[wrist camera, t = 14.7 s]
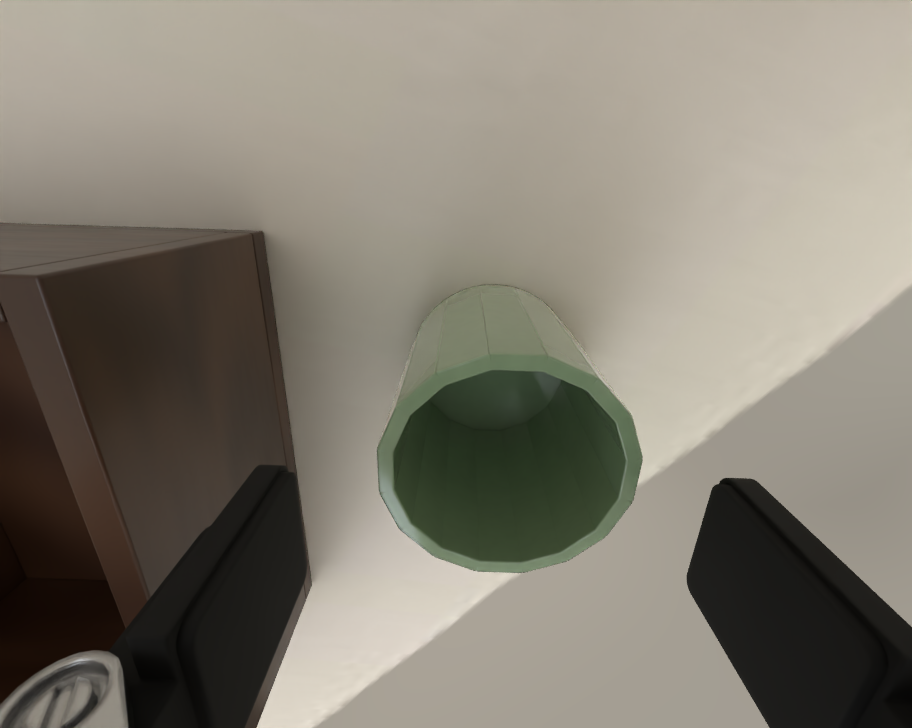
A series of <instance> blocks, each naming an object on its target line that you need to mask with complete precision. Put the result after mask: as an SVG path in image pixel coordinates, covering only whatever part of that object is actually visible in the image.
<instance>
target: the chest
mask: <svg viewBox="0 0 912 728" xmlns="http://www.w3.org/2000/svg"><path fill="white" fill-rule="evenodd" d="M258 465H285V466H287V468H288V471H289V472H294V473H295V475H296V479H297V474H296V467H295V460H294V452H293V445H292V438H291V431H290V423H289V416H288V409H287V402H286V394H285V387H284V380H283V373H282V365H281V358H280V351H279V344H278V336H277V329H276V322H275V315H274V308H273V300H272V293H271V286H270V279H269V271H268V264H267V257H266V250H265V242H264V235H263V232H262V231H249V230H216V229H184V228H151V227H118V226H85V225H52V224H19V223H0V705H1V704H2V702H3V701H4V700H5V699H6V698H7V697H8V696H9V695H10V694H11V693H12V692H13V691H14V690H15V689H16V688H17V687H19V686H20V685H21V684H22V683H24V682H25V681H26V680H28V679H29V678H30V677H32V676H33V675H34V674H36V673H37V672H38V671H40V670H42V669H44V668H46V667H47V666H49V665H51V664H53V663H54V662H56V661H58V660H60V659H63V658H66V657H68V656H71V655H74V654H76V653H80V652H86V651H92V650H100V651H109V650H110V649H111V647H112V646H113V645H114V643H115V642H116V641H117V640H118V638H119V637H120V636H121V634H122V633H123V632H124V631H125V629H126V628H127V627H128V626H129V624H130V623H131V622H132V620H133V619H134V618H135V617H136V615H137V614H138V613H139V611H140V610H141V609H142V608H143V606H144V605H145V604H146V603H147V601H148V600H149V599H150V597H151V596H152V595H153V594H154V592H155V591H156V590H157V588H158V587H159V586H160V585H161V583H162V582H163V581H164V579H165V578H166V577H167V576H168V574H169V573H170V572H171V571H172V569H173V568H174V567H175V565H176V564H177V563H178V562H179V560H180V559H181V558H182V556H183V555H184V554H185V553H186V551H187V550H188V549H189V547H190V546H191V545H192V544H193V542H194V541H195V540H196V539H197V537H198V536H199V535H200V534H201V533H202V532H203V531H204V530H205V528H207V527H209V526H211V525H212V523H213V522H214V521H215V520H216V518H217V517H218V516H219V514H220V513H221V512H222V510H223V509H224V508H225V507H226V505H227V504H228V503H229V501H230V500H231V499H232V497H233V496H234V495H235V494H236V492H237V491H238V490H239V488H240V487H241V486H242V484H243V483H244V482H245V481H246V479H247V478H248V477H249V475H250V474H251V473H252V471H253V470H254V469H255V468H256V467H257V466H258ZM297 487H298V481H297ZM298 495H299V489H298ZM299 503H300V496H299ZM300 510H301V503H300ZM301 518H302V510H301ZM302 526H303V534H304V542H305V550H306V558H307V574H306V578H305V582H304V584H303V587H302V589H301V592H300V594H299V596H298V599H297V601H296V604H295V606H294V609H293V611H292V614H291V616H290V618H289V621H288V623H287V626H286V628H285V631H284V633H283V636H282V638H281V640H280V643H279V645H278V648H277V650H276V653H275V655H274V658H273V660H272V662H271V665H270V667H269V670H268V672H267V675H266V677H265V680H264V682H263V684H262V687H261V689H260V692H259V694H258V697H257V699H256V702H255V704H254V706H253V709H252V711H251V714H250V716H249V719H248V721H247V724H246V726H245V728H256V727H257V725H258V722H259V720H260V717H261V714H262V712H263V709H264V707H265V704H266V701H267V699H268V696H269V694H270V691H271V689H272V686H273V683H274V681H275V678H276V676H277V673H278V671H279V668H280V665H281V663H282V660H283V658H284V655H285V653H286V650H287V647H288V645H289V642H290V640H291V637H292V635H293V632H294V629H295V627H296V624H297V622H298V619H299V617H300V614H301V611H302V609H303V606H304V604H305V601H306V599H307V596H308V594H309V591H310V588H311V586H312V583H311V575H310V568H309V561H308V554H307V546H306V539H305V532H304V525H303V518H302Z"/></svg>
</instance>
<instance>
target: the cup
mask: <svg viewBox="0 0 912 728" xmlns="http://www.w3.org/2000/svg"><path fill="white" fill-rule="evenodd" d="M642 457H643V456H642V452H641V448H640V445H639V441H638V437H637V433H636V429H635V425H634V421H633V418H632V415H631V413H630V412H629V410H628V409H627V408H626V406H625V405H624V404H623V402H622V401H621V400H620V398H619V397H618V396H617V394H616V393H615V392H614V390H613V389H612V387H611V386H610V385H609V383H608V382H607V381H606V379H605V378H604V377H603V375H602V374H601V373H600V371H599V370H598V369H597V367H596V366H595V365H594V363H593V362H592V361H591V359H590V358H589V357H588V355H587V354H586V353H585V351H584V350H583V349H582V347H581V346H580V345H579V343H578V342H577V341H576V339H575V338H574V337H573V335H572V334H571V333H570V331H569V330H568V329H567V327H566V326H565V325H564V324H563V322H562V321H561V320H560V319H559V318H558V317H557V316H556V314H555V313H554V312H553V310H552V309H551V308H549V307H548V305H547V304H546V303H544V302H543V301H541V300H540V299H539V298H537V297H536V296H534V295H532V294H530V293H528V292H526V291H523V290H521V289H518V288H514V287H510V286H505V285H482V286H475V287H471V288H468V289H465V290H462V291H460V292H458V293H455V294H453V295H451V296H450V297H448V298H447V299H445V300H444V301H442V302H441V303H440V304H439V305H437V306H436V307H435V308H434V309H433V310H432V311H431V312H430V314H429V315H428V316H427V317H426V319H425V320H424V322H423V323H422V325H421V327H420V329H419V331H418V333H417V336H416V339H415V341H414V343H413V346H412V348H411V350H410V353H409V356H408V359H407V362H406V365H405V368H404V371H403V374H402V377H401V380H400V383H399V386H398V389H397V392H396V394H395V397H394V400H393V403H392V406H391V409H390V412H389V415H388V418H387V421H386V424H385V427H384V430H383V433H382V435H381V438H380V441H379V444H378V449H377V463H378V482H379V492H380V495H381V497H382V498H383V500H384V502H385V504H386V506H387V508H388V509H389V511H390V513H391V515H392V517H393V518H394V520H395V522H396V524H397V526H398V528H399V529H400V530H401V531H402V532H403V533H405V534H406V535H407V536H408V537H410V538H411V539H412V540H413V541H415V542H416V543H417V544H418V545H420V546H421V547H422V548H423V549H425V550H426V551H427V552H429V553H430V554H431V555H432V556H434V557H436V558H439V559H442V560H445V561H448V562H451V563H453V564H456V565H459V566H462V567H465V568H468V569H471V570H473V571H479V572H506V573H522V572H523V573H525V572H528V571H532V570H536V569H540V568H544V567H547V566H551V565H555V564H559V563H563V562H566V561H569V560H570V559H572V558H573V557H575V556H576V555H578V554H580V553H581V552H583V551H584V550H586V549H588V548H589V547H591V546H592V545H594V544H596V543H597V542H598V541H600V540H602V539H603V538H605V536H607V535H608V534H609V532H610V531H611V530H612V528H613V527H614V526H615V524H616V523H617V522H618V521H619V519H620V518H621V517H622V515H623V514H624V513H625V511H626V510H627V509H628V507H629V506H630V505H631V504H632V501H633V499H634V495H635V491H636V487H637V482H638V478H639V474H640V469H641V465H642Z"/></svg>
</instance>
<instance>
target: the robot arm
mask: <svg viewBox="0 0 912 728" xmlns="http://www.w3.org/2000/svg"><path fill="white" fill-rule="evenodd" d="M306 574H307V558H306V550H305V542H304V534H303V526H302V518H301V510H300V503H299V495H298V487H297V479H296V475H295V473H294V472H289V471H288V468H287V466H285V465H258V466H257V467H256V468H255V469H254V470H253V471H252V473H251V474H250V475H249V477H248V478H247V479H246V481H245V482H244V483H243V484H242V486H241V487H240V488H239V490H238V491H237V492H236V494H235V495H234V496H233V497H232V499H231V500H230V501H229V503H228V504H227V505H226V507H225V508H224V509H223V510H222V512H221V513H220V514H219V516H218V517H217V518H216V520H215V521H214V522H213V523H212V525H211V526H209V527H207V528H205V530H204V531H203V532H202V533H201V534H200V535H199V536H198V537H197V539H196V540H195V541H194V542H193V544H192V545H191V546H190V547H189V549H188V550H187V551H186V553H185V554H184V555H183V556H182V558H181V559H180V560H179V562H178V563H177V564H176V565H175V567H174V568H173V569H172V571H171V572H170V573H169V574H168V576H167V577H166V578H165V579H164V581H163V582H162V583H161V585H160V586H159V587H158V588H157V590H156V591H155V592H154V594H153V595H152V596H151V597H150V599H149V600H148V601H147V603H146V604H145V605H144V606H143V608H142V609H141V610H140V611H139V613H138V614H137V615H136V617H135V618H134V619H133V620H132V622H131V623H130V624H129V626H128V627H127V628H126V629H125V631H124V632H123V633H122V634H121V636H120V637H119V638H118V640H117V641H116V642H115V643H114V645H113V646H112V647H111V649H110V650H109V651H100V650H92V651H86V652H80V653H76V654H74V655H71V656H68V657H66V658H63V659H60V660H58V661H56V662H54V663H53V664H51V665H49V666H47V667H46V668H44V669H42V670H40V671H38V672H37V673H36V674H34V675H33V676H32V677H30V678H29V679H28V680H26V681H25V682H24V683H22V684H21V685H20V686H19V687H17V688H16V689H15V690H14V691H13V692H12V693H11V694H10V695H9V696H8V697H7V698H6V699H5V700H4V701H3V702H2V704H1V705H0V728H245V726H246V724H247V721H248V719H249V716H250V714H251V711H252V709H253V706H254V704H255V702H256V699H257V697H258V694H259V692H260V689H261V687H262V684H263V682H264V680H265V677H266V675H267V672H268V670H269V667H270V665H271V662H272V660H273V658H274V655H275V653H276V650H277V648H278V645H279V643H280V640H281V638H282V636H283V633H284V631H285V628H286V626H287V623H288V621H289V618H290V616H291V614H292V611H293V609H294V606H295V604H296V601H297V599H298V596H299V594H300V592H301V589H302V587H303V584H304V582H305V578H306ZM687 585H688V588H689V591H690V593H691V595H692V597H693V598H694V600H695V602H696V603H697V605H698V607H699V608H700V610H701V612H702V614H703V615H704V617H705V619H706V620H707V622H708V624H709V626H710V627H711V629H712V630H713V632H714V634H715V636H716V637H717V639H718V641H719V642H720V644H721V646H722V648H723V649H724V651H725V653H726V654H727V656H728V658H729V659H730V661H731V663H732V665H733V666H734V668H735V670H736V671H737V673H738V675H739V677H740V678H741V680H742V682H743V683H744V685H745V687H746V688H747V690H748V692H749V693H750V695H751V697H752V699H753V700H754V702H755V704H756V705H757V707H758V709H759V710H760V712H761V714H762V716H763V717H764V719H765V721H766V722H767V724H768V726H769V727H770V728H912V627H911V626H910V625H909V624H908V623H907V622H906V621H905V620H904V619H902V618H901V617H900V616H899V615H898V614H897V613H896V612H895V611H894V610H893V609H892V608H891V607H890V606H889V605H888V604H887V603H886V602H884V601H883V600H882V599H881V598H880V597H879V596H878V595H877V594H876V593H875V592H874V591H873V590H872V589H871V588H870V587H869V586H868V585H866V584H865V583H864V582H863V581H862V580H861V579H860V578H859V577H858V576H857V575H856V574H855V573H854V572H853V571H852V570H850V569H849V568H848V567H847V566H846V565H845V564H844V563H843V562H842V561H841V560H840V559H839V558H837V556H836V555H835V554H834V553H833V552H831V551H830V550H829V549H828V548H827V547H826V546H825V545H824V544H823V543H822V542H821V541H820V540H819V539H818V538H816V536H814V535H813V534H812V533H811V532H810V531H809V530H808V529H807V528H806V527H805V526H804V525H803V524H802V523H801V522H800V521H798V519H796V518H795V517H794V516H793V515H792V514H791V513H790V512H789V511H788V510H787V509H786V508H785V507H784V506H782V504H781V503H779V502H778V501H777V500H776V499H775V498H774V497H773V496H772V495H771V494H770V493H769V492H768V491H767V490H766V489H765V488H763V487H762V486H761V485H760V484H759V483H758V482H757V481H755V480H753V479H744V478H724V479H722V480H721V481H720V483H719V484H717V485H715V486H714V487H713V488H712V491H711V495H710V498H709V501H708V504H707V508H706V511H705V515H704V518H703V521H702V525H701V528H700V532H699V535H698V539H697V542H696V545H695V549H694V552H693V555H692V559H691V562H690V566H689V569H688V573H687Z"/></svg>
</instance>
